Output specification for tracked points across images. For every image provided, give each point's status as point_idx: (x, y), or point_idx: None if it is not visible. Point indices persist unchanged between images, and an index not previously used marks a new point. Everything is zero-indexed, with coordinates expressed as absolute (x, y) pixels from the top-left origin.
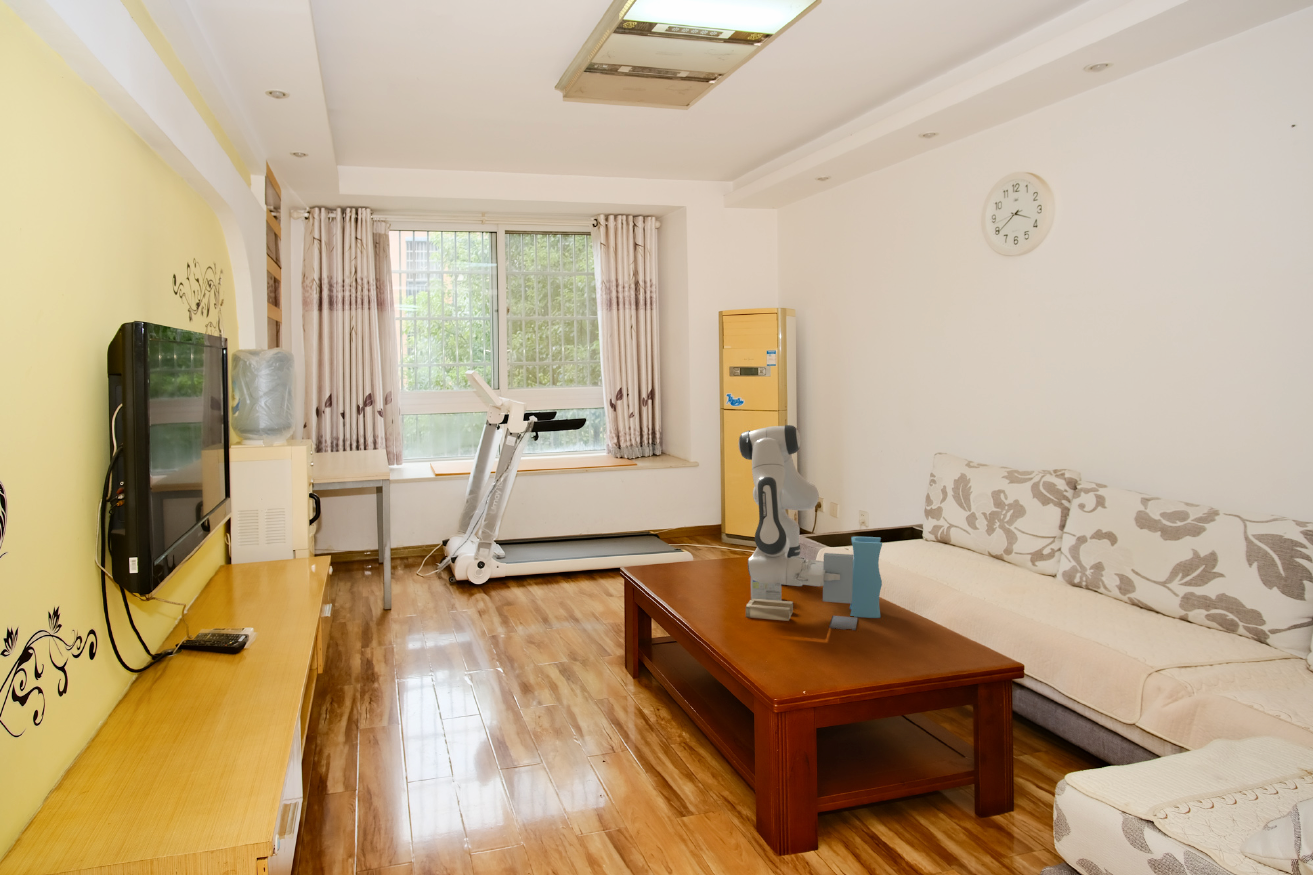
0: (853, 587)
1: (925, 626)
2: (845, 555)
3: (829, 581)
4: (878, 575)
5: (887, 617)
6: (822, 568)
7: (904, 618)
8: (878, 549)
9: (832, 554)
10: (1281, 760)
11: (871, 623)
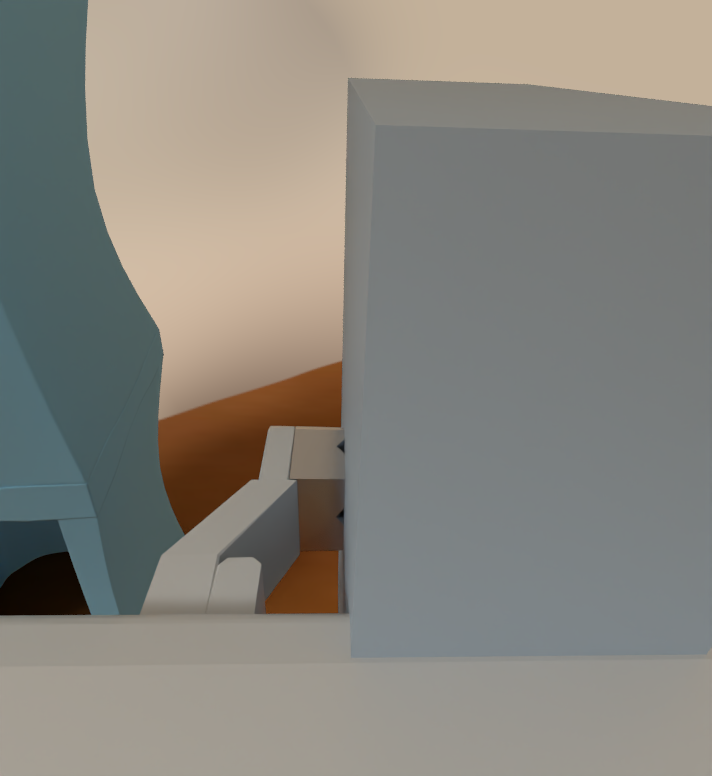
0: (108, 526)
1: (299, 394)
2: (478, 86)
3: None
4: (134, 300)
5: (174, 501)
6: (581, 701)
7: (189, 444)
8: (78, 41)
9: (551, 103)
10: None
11: (310, 567)
